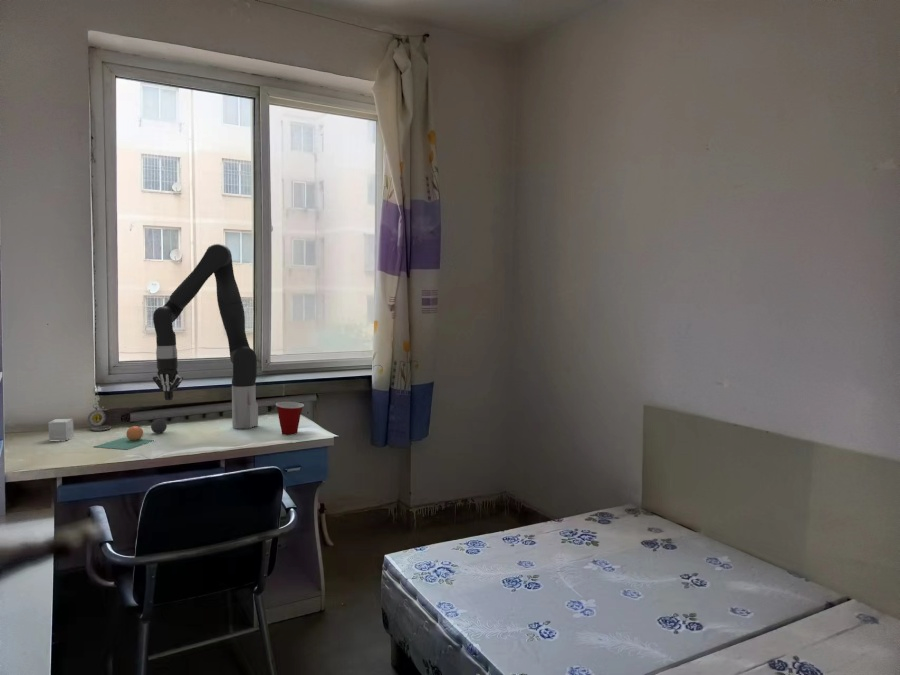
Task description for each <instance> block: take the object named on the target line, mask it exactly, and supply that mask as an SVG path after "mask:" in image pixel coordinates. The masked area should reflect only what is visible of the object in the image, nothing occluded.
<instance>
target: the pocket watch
mask: <svg viewBox="0 0 900 675" xmlns="http://www.w3.org/2000/svg"><path fill="white" fill-rule="evenodd" d="M95 405H98V406H95ZM94 406H95V407H94ZM99 407H100V404H98V403H95V404H93V405H92V408H94V410H92V411H90V413H88V416H87V422H88V424H89V425H90V426H91V431H93V432H103V431H108V430H110V429H111V428H112V427H111V425H103V424H104V423H105V422H106V419H107V418H106V416H107V415H106V414H105V412H104V411H102V410H100V409H99ZM99 427H109V428H105V429H95V428H99ZM102 430H103V431H102Z"/></svg>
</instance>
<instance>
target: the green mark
mask: <svg viewBox="0 0 900 675" xmlns="http://www.w3.org/2000/svg"><path fill="white" fill-rule="evenodd" d="M154 440H155V439H146V438H145V439H144V438H141V439H139V440H137V441H131V440H129V439H128V438H127V437H121V438H118V439H114V440H111V441H108V442H105V443H100V444H98V445H93V448H98V447H102V448H101V449H110V448H112V450H124V451H125V450H126V451H128V450H130V449H134V448H137V447H140V446H143V444H144V445H147V444H149V442H150V443H151V442H152V441H153V442H155V441H154ZM146 443H147V444H146Z"/></svg>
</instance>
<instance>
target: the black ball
mask: <svg viewBox="0 0 900 675" xmlns="http://www.w3.org/2000/svg"><path fill="white" fill-rule="evenodd" d="M167 425H168V424H167V422H166V421H165V420H164V419H160V418H158V419H155V420H154V421H152V423H151V424H150V428H151V431H152V432H153V433H154V434H163V433H164V432H165V431H166V429H167V428H168V427H167Z"/></svg>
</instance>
